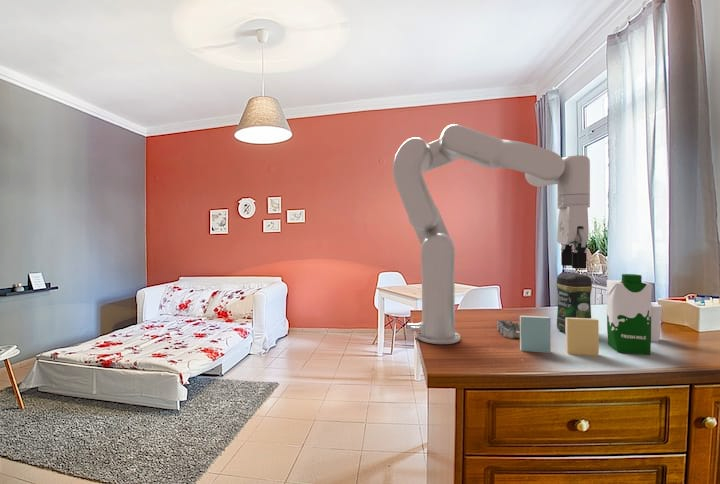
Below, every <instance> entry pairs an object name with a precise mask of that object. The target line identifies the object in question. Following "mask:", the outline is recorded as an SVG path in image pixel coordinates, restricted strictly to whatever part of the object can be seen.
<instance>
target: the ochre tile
mask: <svg viewBox="0 0 720 484" xmlns="http://www.w3.org/2000/svg"><path fill="white" fill-rule="evenodd" d="M564 334H565V338H564V339H565V353H566V352H567V353H569V354H568V355H580V354H587V355H586V356H596V355H600V354H599V353H600V352H599V343H600V342H599V338H600V337H599V334H600V333H599V319H598V318H592V317H591V318H567V317H565V332H564ZM567 353H566V354H567Z"/></svg>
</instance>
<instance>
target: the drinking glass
mask: <svg viewBox="0 0 720 484" xmlns="http://www.w3.org/2000/svg"><path fill="white" fill-rule="evenodd" d="M662 308H663V306H662V305H661V304H658V303H652V302H651V343H652V342H653V343H654V342H659V341H661V323H662V322H661V321H662Z"/></svg>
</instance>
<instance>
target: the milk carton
mask: <svg viewBox="0 0 720 484" xmlns="http://www.w3.org/2000/svg"><path fill="white" fill-rule="evenodd" d="M652 293H653V284H652V283H649V282H646V281H644V280H642V275H641V274H635V273H633V274H632V273H623V274H621V280H620V279H619V280H618V279H615V280H614V279H606V328H607V329H606V330H607V332H606V333H607V344H608V345H609V347H610V348H612V349H614V350H615V352H617V353H624V354H625V353H626V354H636V355H646V356H647V355H648V356H650V355H651V351H652V349H651V346H652V341H651V303H652Z"/></svg>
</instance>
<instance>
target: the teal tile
mask: <svg viewBox="0 0 720 484" xmlns="http://www.w3.org/2000/svg"><path fill="white" fill-rule="evenodd" d="M519 324H520V338H519V349H520V351H521V352H533V353H534V352H535V353H536V352H537V353H548V354H549V353H550V354H551V352H552V351H551V317H549V316H540V315H538V316H537V315H519Z"/></svg>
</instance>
